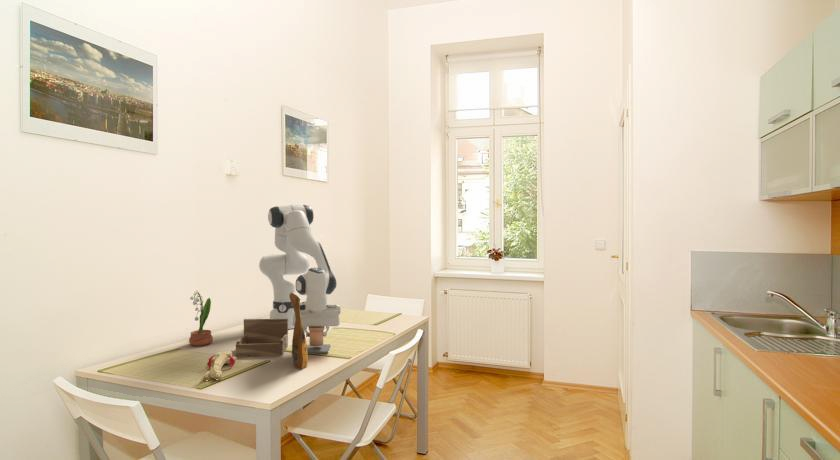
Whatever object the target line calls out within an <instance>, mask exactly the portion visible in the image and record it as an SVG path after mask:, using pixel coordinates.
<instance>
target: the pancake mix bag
mask: <svg viewBox="0 0 840 460" xmlns="http://www.w3.org/2000/svg"><path fill="white" fill-rule="evenodd" d="M289 296H290V300H291V303H292V306H293V309H294V312H295V318H296V321H295V326H294V328H293V332H292V333H293V334H292V341H291V342H292V343H291V356H292V360H293V364H294V368H295V369H297V370H298V369H299V370H303V369H305V368H307V367H308V363H309V362H308V361H309V358H308V357H309V356H308V355H309V354H308V353H307V345H308V344H307V339H306V338H307V337H306V333H305V331H304V327H303V323H302V319H301V314H300V303H301V299H300V297H299V296H298V295H297V294H296V293H295V294H293V293H292V292H291V293H290V295H289Z"/></svg>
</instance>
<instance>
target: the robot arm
mask: <svg viewBox="0 0 840 460" xmlns="http://www.w3.org/2000/svg"><path fill="white" fill-rule="evenodd" d="M314 215H315V214H314V210H313V207H311V206H310V205H307V204H303V205H302V204H301V205H300V204H290V205H282V206H281V205H280V206H273V207H270V209H269V210H268V214H267V221H268V223H269V225H270V226H271V228H275V229H274V246H275V247H276V248H277V250H279V251H281V252H283V253H285V254H270V255H269V254H268V255H263V256H262V257H261V258H260V260H259V263H258V267H259V270H260V272H261V273H262V275H264V276H265V277H267V278H268V279H269V280H270V282H271V284H272V290H273V300H272V310H271V311H269V319H284V318H288V330H292V329H294V326H295V321H296V318H295V312H294V309H293V306H292V303H291V300H290V296H289V295H290V293H291V292H292V293H293V294H295V295H296V292H297V293H298V294H299V295H301V296H306V299H305V301H302V302H300V314H301V319H302V323H303V327H304V333H305V338H309V334H310V331H309V330H308V328H309V327H321V326H324V327H325V329H326V330H325V331H323V338H325V337H327V335H328V331H329V330H330V327H338V326H340V324H341V321H340V320H341V319H340V314H341V307H340V306H339V305H338V304H328V303H327V302H328V297H327V296H328V295H331V294H332V293H334V291H335V290H336V288H337V280H336V276H335V275H334V273H333V271H332V269H331V266H330V265H329V264H330V263H329V262H328V258H327V257H326V253H325V251H324V249H323V247H322V244H321V243H320V242H319V241H317V240H316V239H315V236H314V235H313V233H312V230H311V226H310V225H312V223H313V222H314ZM303 253H304V254H303ZM305 254H306V255H309V256H310V257H312V258H313V260H315V263H316V266H317V267H310V260H309V258H308V256H306V255H305ZM286 275H290V276H291V275H292V276H293V275H299V276H298V277H296V280H295V285H294V283H292V282H290V281H288V280H286V279H285V278H284V276H286Z"/></svg>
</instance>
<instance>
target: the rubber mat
mask: <svg viewBox="0 0 840 460" xmlns="http://www.w3.org/2000/svg"><path fill="white" fill-rule="evenodd" d="M329 348H330V349H331V344H330V343H327V344H326V343H325V344H324V343H323V345H322V346H310V345H309V344H307V353H308V355H319V354H318V353H328V354H329V352H330V349H329ZM328 351H329V352H328Z"/></svg>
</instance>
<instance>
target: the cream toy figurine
mask: <svg viewBox="0 0 840 460" xmlns="http://www.w3.org/2000/svg"><path fill="white" fill-rule="evenodd" d="M215 356H216V357H215ZM236 360H237V357H236V356H233V352H232V351H231V350H222V351H221V350H220V351H219V352H217V354H214V355H212V356H211V357H209V358H208V361H207V364H206V366H208V368H210V370H208V371H207V372H206V373H205V374H204V376H203V378H202V381H204V382H205V381H206V380H209V381H211V379H213V380H214V379H221V380H222V375H223V372H222V368H223V366H224V364H225V365H226V364H227V365H228V364H229V368H230V367H231V368H232V367H234V366H235V365H236V364H235V363H236Z"/></svg>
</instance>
